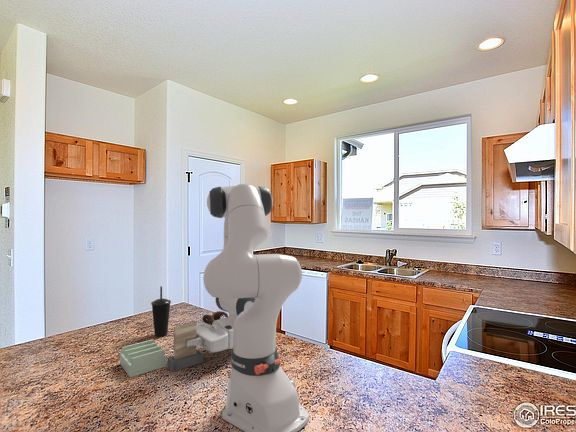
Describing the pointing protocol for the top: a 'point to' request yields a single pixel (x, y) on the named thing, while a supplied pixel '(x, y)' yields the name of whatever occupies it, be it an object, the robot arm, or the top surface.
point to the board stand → (184, 361)
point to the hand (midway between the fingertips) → (184, 342)
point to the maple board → (181, 336)
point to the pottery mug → (213, 317)
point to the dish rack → (142, 358)
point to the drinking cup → (161, 315)
